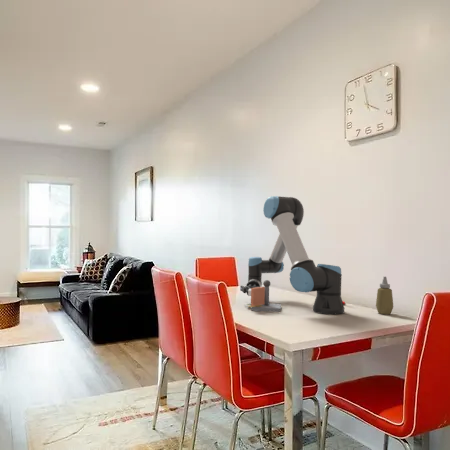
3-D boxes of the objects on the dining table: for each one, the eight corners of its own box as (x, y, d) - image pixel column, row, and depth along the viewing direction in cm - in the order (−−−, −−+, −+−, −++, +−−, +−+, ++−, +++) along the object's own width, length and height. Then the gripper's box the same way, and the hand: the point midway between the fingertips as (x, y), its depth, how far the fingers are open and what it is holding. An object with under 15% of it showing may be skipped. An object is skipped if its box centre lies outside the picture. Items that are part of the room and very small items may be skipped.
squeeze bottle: (380, 311, 214) (380, 275, 215) (396, 313, 209) (396, 276, 209) (372, 313, 209) (373, 276, 209) (388, 316, 203) (389, 278, 203)
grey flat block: (280, 306, 222) (280, 303, 222) (280, 311, 208) (280, 308, 208) (247, 305, 225) (247, 301, 225) (245, 310, 211) (245, 306, 211)
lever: (266, 304, 219) (266, 279, 219) (271, 305, 216) (272, 280, 216) (249, 306, 210) (249, 281, 211) (254, 307, 208) (255, 281, 208)
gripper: (265, 294, 232) (262, 301, 209) (241, 293, 234) (236, 300, 211) (265, 280, 232) (263, 286, 209) (241, 279, 234) (236, 284, 211)
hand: (249, 293), depth 210 cm, fingers closed
